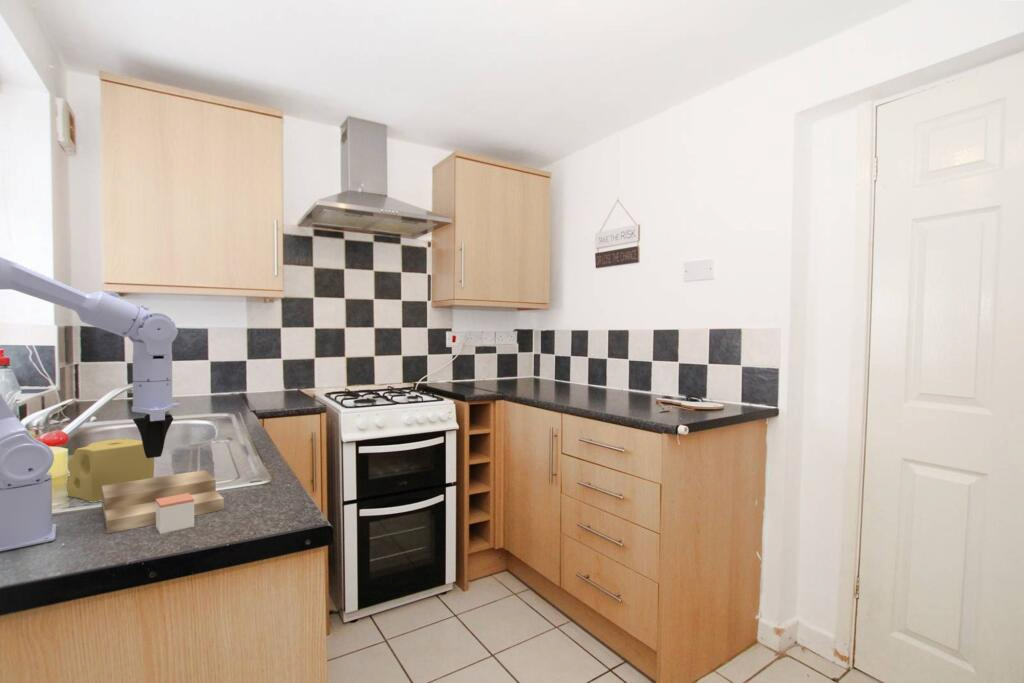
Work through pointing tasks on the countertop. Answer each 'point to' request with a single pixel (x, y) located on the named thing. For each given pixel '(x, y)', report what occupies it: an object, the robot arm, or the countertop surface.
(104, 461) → the cheese
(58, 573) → the countertop surface
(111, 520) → the step
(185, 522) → the white cube
